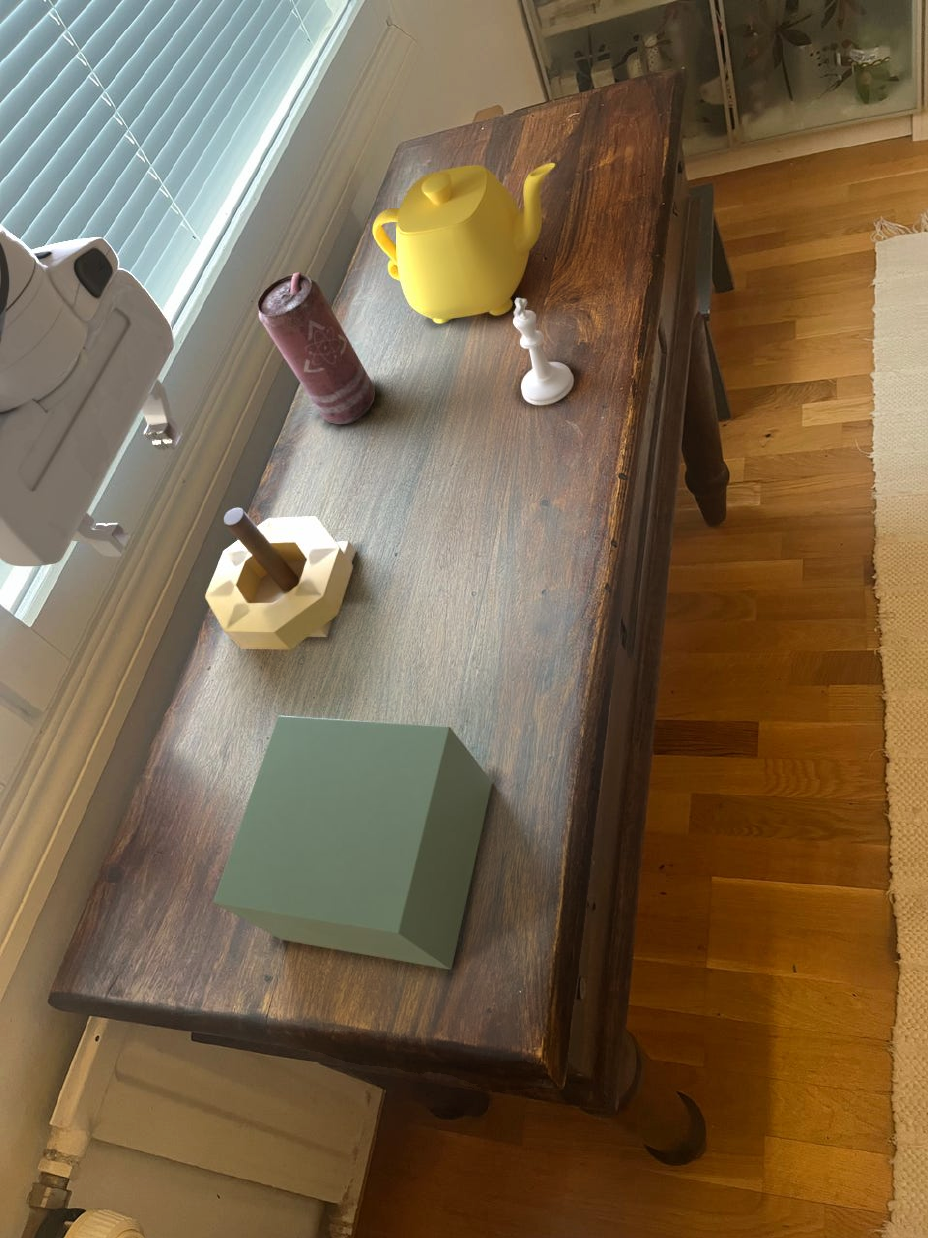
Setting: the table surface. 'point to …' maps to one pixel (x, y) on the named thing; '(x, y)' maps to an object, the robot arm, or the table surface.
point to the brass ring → (295, 609)
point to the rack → (273, 562)
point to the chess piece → (539, 363)
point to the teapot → (462, 241)
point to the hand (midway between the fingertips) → (146, 493)
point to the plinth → (360, 838)
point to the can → (316, 348)
